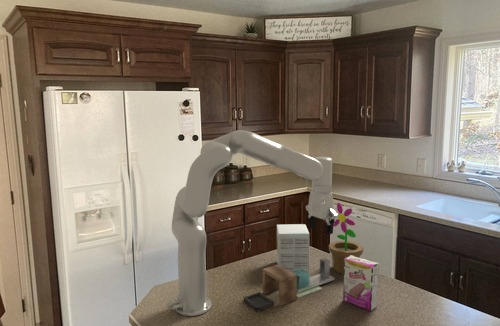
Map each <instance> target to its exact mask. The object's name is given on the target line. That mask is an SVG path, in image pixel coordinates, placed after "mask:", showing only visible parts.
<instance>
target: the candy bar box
mask: <svg viewBox="0 0 500 326" xmlns="http://www.w3.org/2000/svg"><path fill="white" fill-rule="evenodd" d="M379 268H380V263H379V262H375V261H372V260H368V259H364V258H362V257H360V258H359V257H356V256H352V255H350V256H348V257H347V258H345V259H344V274H343V293H342V295H343V298H342V301H343V302H345V303H348V304H351V305H353V306H356V307H359V308H361V309H365V310H366V311H368V312H369V311H370V312H372V311H373V310H375V308H377V306H378V297H379V296H378V292H379V272H380V271H379Z"/></svg>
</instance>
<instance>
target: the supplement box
mask: <svg viewBox="0 0 500 326" xmlns="http://www.w3.org/2000/svg"><path fill="white" fill-rule="evenodd" d="M307 227H308V226H307V225H306V224H304V223H300V224H299V223H297V224H296V223H295V224H294V223H293V224H291V223H290V224H287V223H286V224H276V263H277V264H276V265H279V266H281V267H283V268H285V269H287V270H288V271H290V272H292V271H295V270H298V269H302V270H304V271H306V272H308V273H309V274H310V232H309V229H308V228H307Z"/></svg>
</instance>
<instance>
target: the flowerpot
mask: <svg viewBox="0 0 500 326" xmlns="http://www.w3.org/2000/svg"><path fill="white" fill-rule="evenodd" d="M336 209H337V211H336V210H334V211H335V212H336V213H337V214H338V218H337V221H336V222H335V224H333V228H334V227H337V226H338V225H340V229H341V231H342V232H343V233H344V234H338V235H336V237H337V238H338V239H340V240H337V241H332V242H331V243H329V244H328V251H329V253H330V254H331V261H332V268H333V271H334V272H336V273H338V274H342V275H344V259H345V258H347V257H348V256H350V255H352V256H356V257H359V258H361V256H362V255H363V253H364V247H363V246H362V244H360V243H357V242H355V241H349V240H348V236H349V237H350V238H356V237H357V235H356V233H355V231H354V230H352V229H351V228H349V229H348V226H347V225H349V226H355V225H356V223H355V222H354V220H353V219H351V218H349V216H350V215H351V214H352V212H353V209H352V208H351V207H350V208H347V209H346V210H344V209H343V205H342V204H341V203H340V202H337V204H336ZM347 217H348V218H347Z"/></svg>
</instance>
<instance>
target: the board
mask: <svg viewBox="0 0 500 326" xmlns="http://www.w3.org/2000/svg"><path fill="white" fill-rule="evenodd" d="M321 290H323V288H322V287H321V286H320V285H318V286H315V287H313V288H310V289H307V290H304V291H301V292H297V298H298V299H299V298H301V297H305V296H307V295H310V294H312V293H316V292H318V291H321Z"/></svg>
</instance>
